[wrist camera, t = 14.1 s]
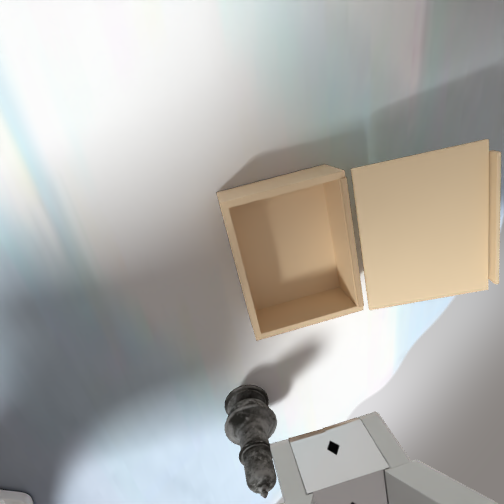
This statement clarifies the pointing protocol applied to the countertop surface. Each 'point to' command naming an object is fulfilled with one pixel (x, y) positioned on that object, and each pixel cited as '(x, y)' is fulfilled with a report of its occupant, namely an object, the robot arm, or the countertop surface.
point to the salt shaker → (252, 435)
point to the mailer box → (294, 249)
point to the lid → (429, 224)
